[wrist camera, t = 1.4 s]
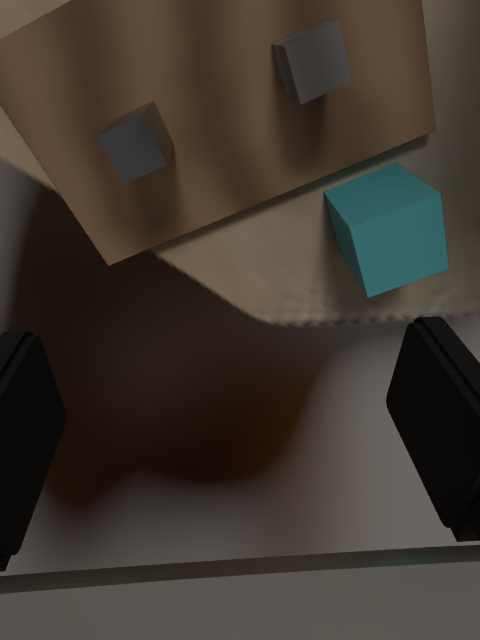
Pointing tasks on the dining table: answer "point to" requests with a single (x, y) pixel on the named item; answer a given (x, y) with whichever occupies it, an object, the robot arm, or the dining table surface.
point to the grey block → (137, 142)
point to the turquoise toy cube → (389, 228)
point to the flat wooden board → (212, 102)
